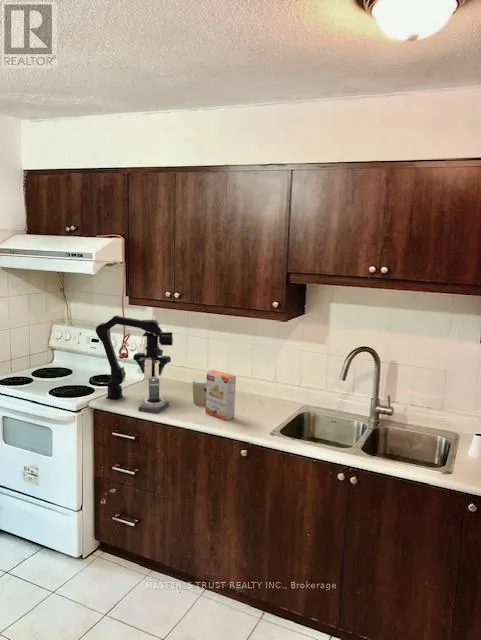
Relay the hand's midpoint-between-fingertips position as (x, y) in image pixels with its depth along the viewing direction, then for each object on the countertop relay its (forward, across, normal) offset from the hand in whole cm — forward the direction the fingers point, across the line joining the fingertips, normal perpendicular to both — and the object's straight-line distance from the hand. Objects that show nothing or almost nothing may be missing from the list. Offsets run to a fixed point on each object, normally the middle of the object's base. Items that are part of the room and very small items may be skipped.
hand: (151, 374), depth 267 cm
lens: (+11, -8, +13) cm, 19 cm away
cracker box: (+13, -41, +10) cm, 44 cm away
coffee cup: (+13, -26, -4) cm, 29 cm away
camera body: (+13, -8, +13) cm, 20 cm away
